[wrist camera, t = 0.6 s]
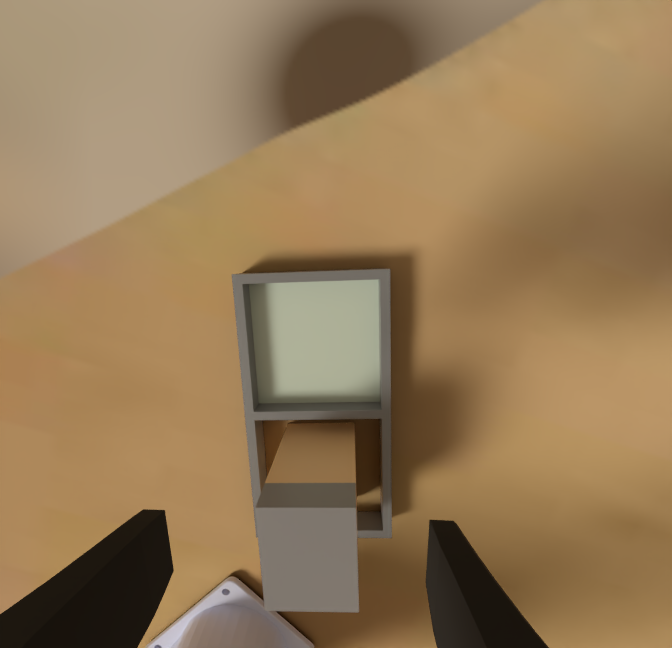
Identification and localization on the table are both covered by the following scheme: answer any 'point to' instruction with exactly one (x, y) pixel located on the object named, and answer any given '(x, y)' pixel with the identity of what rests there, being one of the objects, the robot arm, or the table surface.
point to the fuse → (310, 521)
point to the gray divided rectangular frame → (316, 360)
